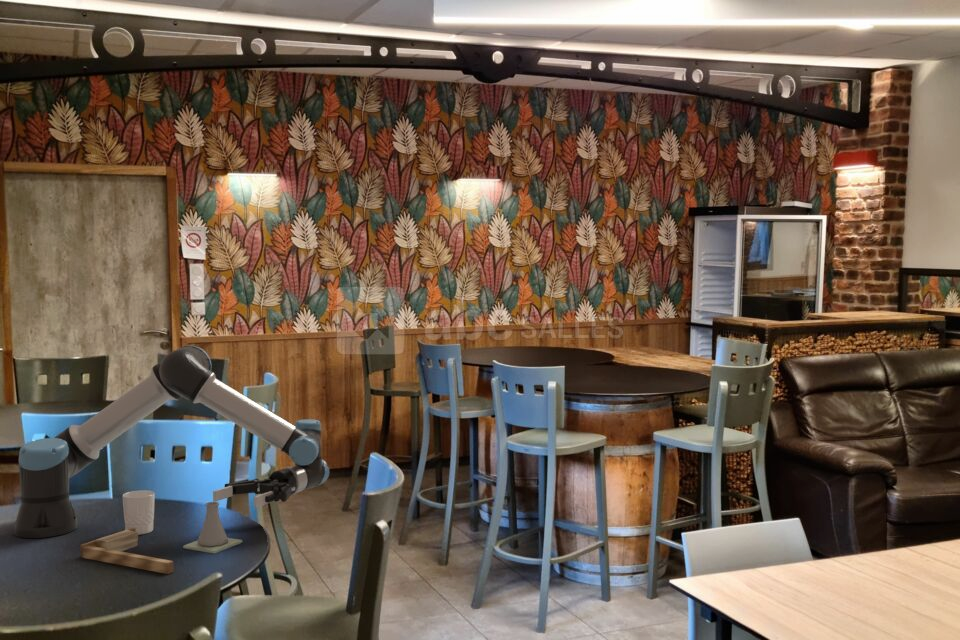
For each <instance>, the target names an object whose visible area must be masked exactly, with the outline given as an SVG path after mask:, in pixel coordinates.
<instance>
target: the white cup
mask: <svg viewBox="0 0 960 640" xmlns="http://www.w3.org/2000/svg"><path fill="white" fill-rule="evenodd" d="M155 495H156V494H155V491H152V490H148V489H147V490H141V489H140V490H134V491H128V492H125V493H123V494H122V505H123V506H122V507H123V508H122V509H123V518H124V520H123V521H124V528H125V529H124V530H127V529H130V528H135V530H136V532H138V536H140V535H146V534H149V533H152V531H153V530H154V520H155V499H156V498H155Z"/></svg>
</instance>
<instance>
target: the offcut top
mask: <svg viewBox="0 0 960 640" xmlns="http://www.w3.org/2000/svg"><path fill="white" fill-rule="evenodd" d="M124 530H125V531H124ZM124 530H121V531H122V532H121V531H119V533H118V532H116V533H112V534H109V535H105V536H103V537H100V538H97V539H95V540H96V547H99V548H104V549H112V548H116V547H119V546H122V545H125V544H128V543H131V542H134V541H137V542H138V541H139V535H138V532H134V531H130V530H126V529H124Z"/></svg>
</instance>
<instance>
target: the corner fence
mask: <svg viewBox="0 0 960 640" xmlns="http://www.w3.org/2000/svg"><path fill="white" fill-rule="evenodd" d="M125 530H126V529H124V530H121V531H119V532H122V531H125ZM127 530H130V531H134V532H136V530H135V528H130V529H127ZM119 532H117V533H119ZM79 547H80V549H79V550H80V551H79V552H80V558H83V559H86V560H87V559H88V560H93V561H99V562H103V563H108V564H109V563H110V564H114V565H119V566H125V567H130V568H135V569H140V570H146V571H151V572H155V573H160V574H165V575H170V574H172V573H174V560H169V559H164V558H157V557H152V556H149V555H148V556H147V555H141V554H136V553H131V552H125V551H115V550H110V549H104V548H99V547H96V539H94V540H91V541H88V542H85V543H82V544H80V546H79Z"/></svg>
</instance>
